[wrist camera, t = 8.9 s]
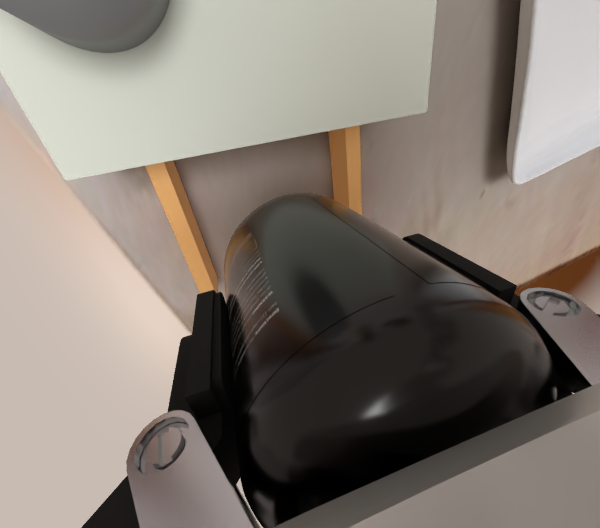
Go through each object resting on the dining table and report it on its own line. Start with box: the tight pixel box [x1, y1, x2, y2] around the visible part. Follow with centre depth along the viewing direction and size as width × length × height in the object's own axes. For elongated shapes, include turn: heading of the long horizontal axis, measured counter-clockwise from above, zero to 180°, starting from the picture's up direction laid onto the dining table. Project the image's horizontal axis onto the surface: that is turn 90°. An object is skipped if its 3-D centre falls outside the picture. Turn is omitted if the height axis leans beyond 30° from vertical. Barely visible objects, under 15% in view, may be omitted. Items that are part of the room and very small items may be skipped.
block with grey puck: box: [0, 0, 437, 293], centre depth 14 cm, size 18×20×9 cm
